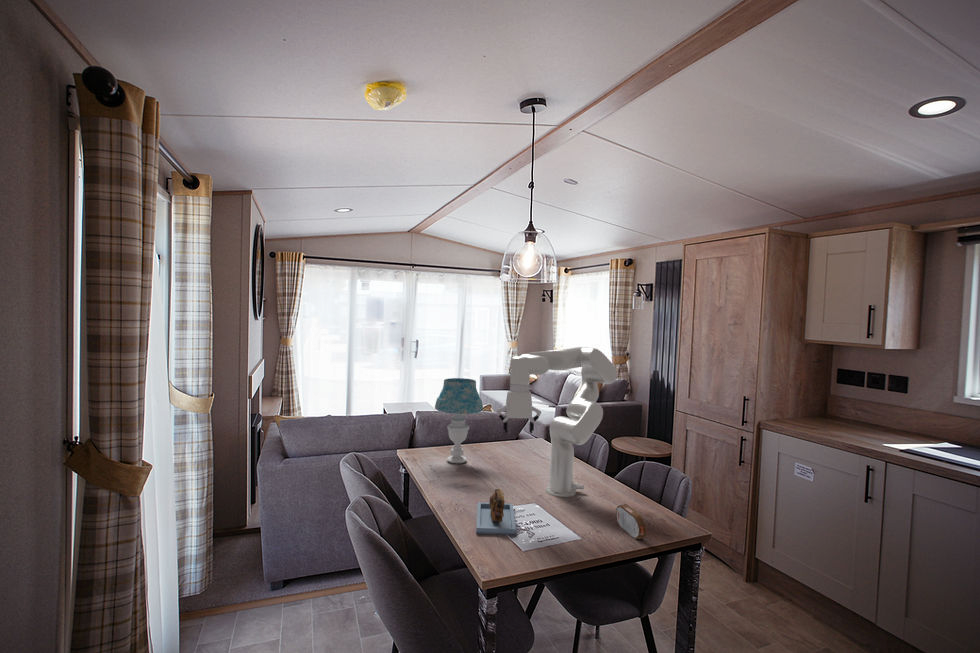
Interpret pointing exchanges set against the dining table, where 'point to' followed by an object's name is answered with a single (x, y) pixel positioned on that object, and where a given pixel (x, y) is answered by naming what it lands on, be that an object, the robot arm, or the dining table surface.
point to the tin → (631, 521)
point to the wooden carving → (497, 505)
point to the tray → (494, 527)
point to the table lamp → (458, 411)
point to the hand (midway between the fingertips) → (518, 432)
